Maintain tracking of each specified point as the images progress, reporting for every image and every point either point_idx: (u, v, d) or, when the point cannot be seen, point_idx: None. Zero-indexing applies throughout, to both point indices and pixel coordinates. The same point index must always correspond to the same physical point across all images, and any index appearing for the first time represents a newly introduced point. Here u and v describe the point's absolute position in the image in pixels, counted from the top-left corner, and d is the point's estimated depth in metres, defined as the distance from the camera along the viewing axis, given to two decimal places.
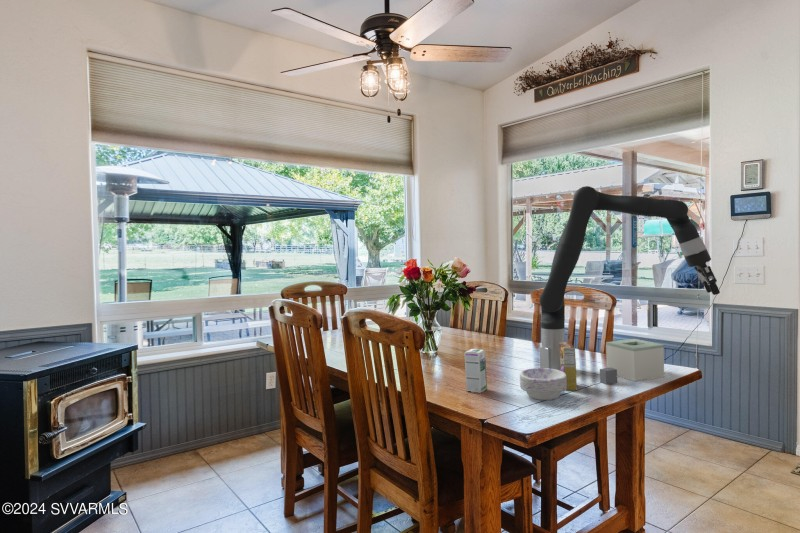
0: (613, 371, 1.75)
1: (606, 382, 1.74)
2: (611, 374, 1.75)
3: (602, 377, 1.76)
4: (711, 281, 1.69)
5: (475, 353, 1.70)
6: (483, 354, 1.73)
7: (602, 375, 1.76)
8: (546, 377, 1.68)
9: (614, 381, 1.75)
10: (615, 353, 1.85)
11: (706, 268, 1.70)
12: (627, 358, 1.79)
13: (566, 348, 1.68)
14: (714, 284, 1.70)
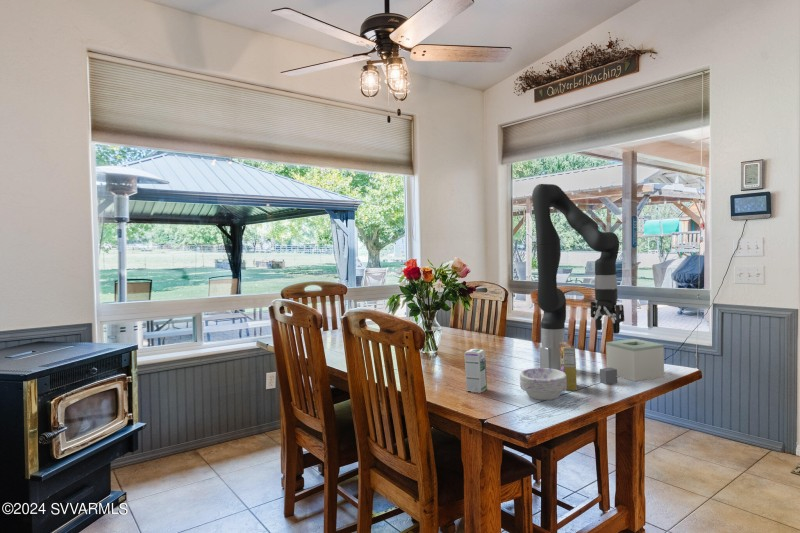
0: (613, 371, 1.75)
1: (606, 382, 1.74)
2: (611, 374, 1.75)
3: (602, 377, 1.76)
4: (620, 320, 1.69)
5: (475, 353, 1.70)
6: (483, 354, 1.73)
7: (602, 375, 1.76)
8: (546, 377, 1.68)
9: (614, 381, 1.75)
10: (615, 353, 1.85)
11: (620, 306, 1.69)
12: (627, 358, 1.79)
13: (566, 348, 1.68)
14: (618, 323, 1.71)
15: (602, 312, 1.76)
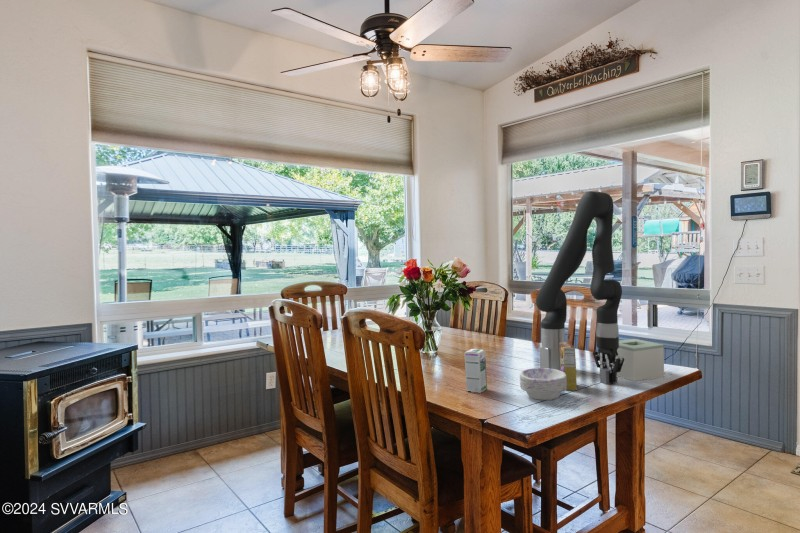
0: None
1: (606, 382, 1.74)
2: None
3: (602, 377, 1.76)
4: (616, 370, 1.72)
5: (475, 353, 1.70)
6: (483, 354, 1.73)
7: (602, 375, 1.76)
8: (546, 377, 1.68)
9: None
10: None
11: (621, 360, 1.70)
12: (627, 358, 1.79)
13: (566, 348, 1.68)
14: (615, 373, 1.74)
15: (605, 359, 1.76)
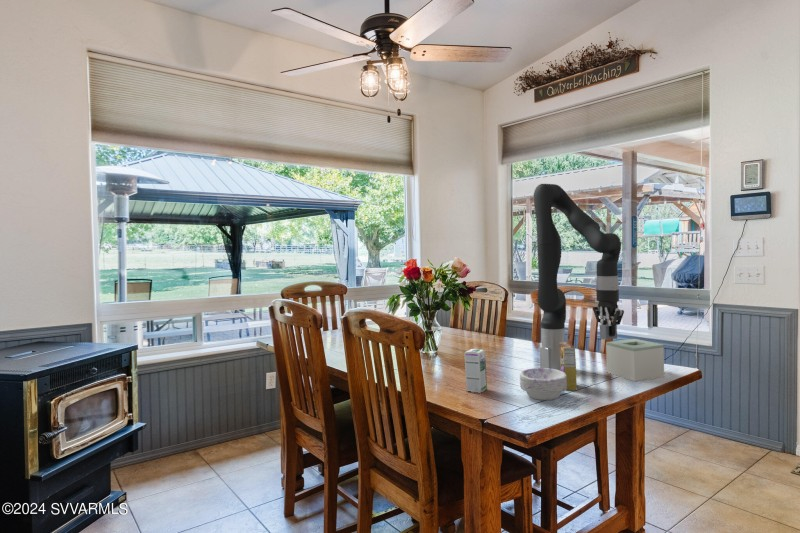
0: None
1: (606, 337, 1.74)
2: None
3: (602, 333, 1.75)
4: (616, 323, 1.72)
5: (475, 353, 1.70)
6: (483, 354, 1.73)
7: (602, 331, 1.76)
8: (546, 377, 1.68)
9: (614, 336, 1.75)
10: (615, 353, 1.85)
11: (621, 312, 1.70)
12: (627, 358, 1.79)
13: (566, 348, 1.68)
14: (614, 326, 1.74)
15: (605, 312, 1.75)
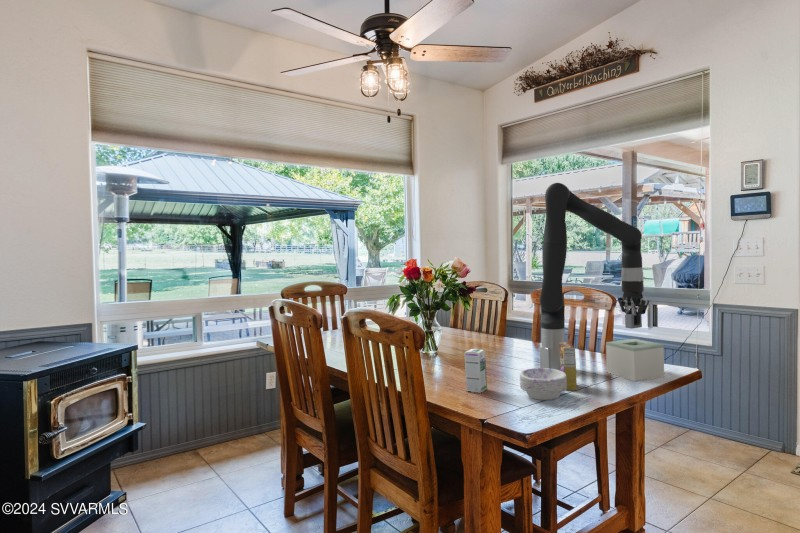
0: None
1: (631, 326, 1.82)
2: None
3: (627, 322, 1.84)
4: (641, 312, 1.80)
5: (475, 353, 1.70)
6: (483, 354, 1.73)
7: (627, 320, 1.84)
8: (546, 377, 1.68)
9: (639, 325, 1.84)
10: (615, 353, 1.85)
11: (646, 302, 1.78)
12: (627, 358, 1.79)
13: (566, 348, 1.68)
14: (639, 316, 1.82)
15: (630, 302, 1.84)
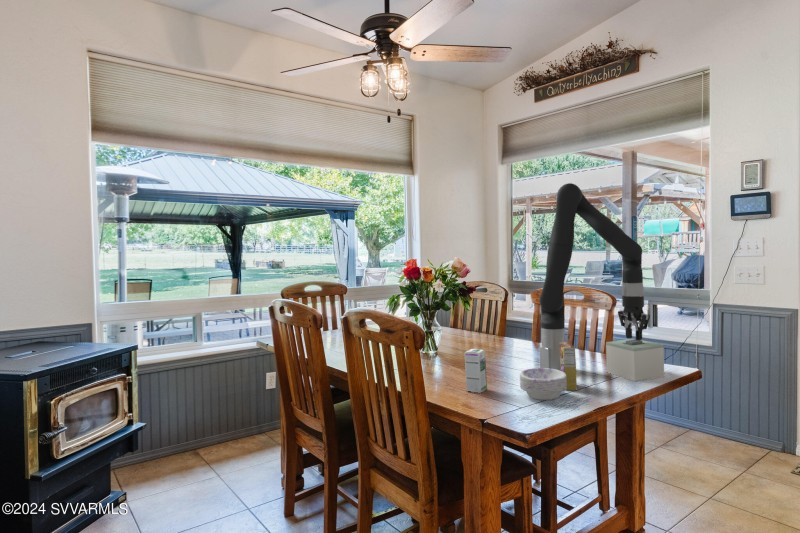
0: (639, 343, 1.83)
1: None
2: None
3: None
4: (643, 327, 1.80)
5: (475, 353, 1.70)
6: (483, 354, 1.73)
7: None
8: (546, 377, 1.68)
9: None
10: (615, 353, 1.85)
11: (647, 316, 1.78)
12: (627, 358, 1.79)
13: (566, 348, 1.68)
14: (641, 331, 1.81)
15: (630, 317, 1.84)
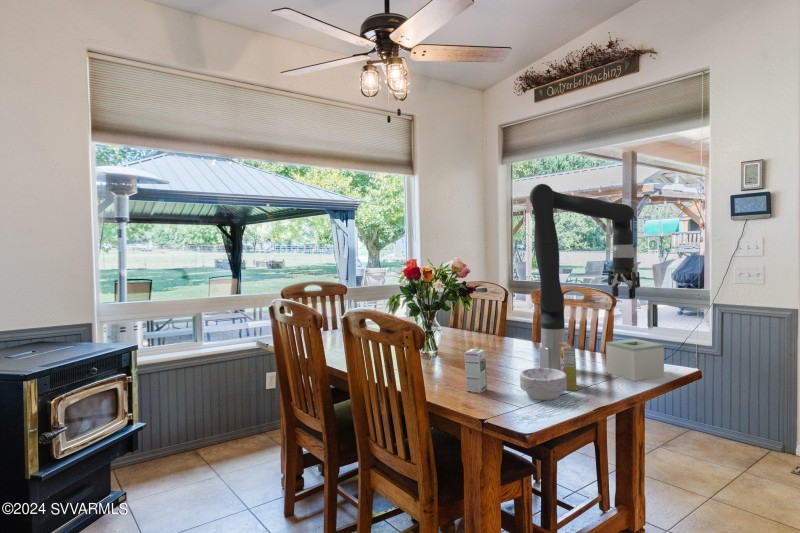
0: None
1: None
2: None
3: None
4: (636, 285, 1.83)
5: (475, 353, 1.70)
6: (483, 354, 1.73)
7: None
8: (546, 377, 1.68)
9: None
10: (615, 353, 1.85)
11: (636, 273, 1.83)
12: (627, 358, 1.79)
13: (566, 348, 1.68)
14: (634, 289, 1.84)
15: (619, 279, 1.90)
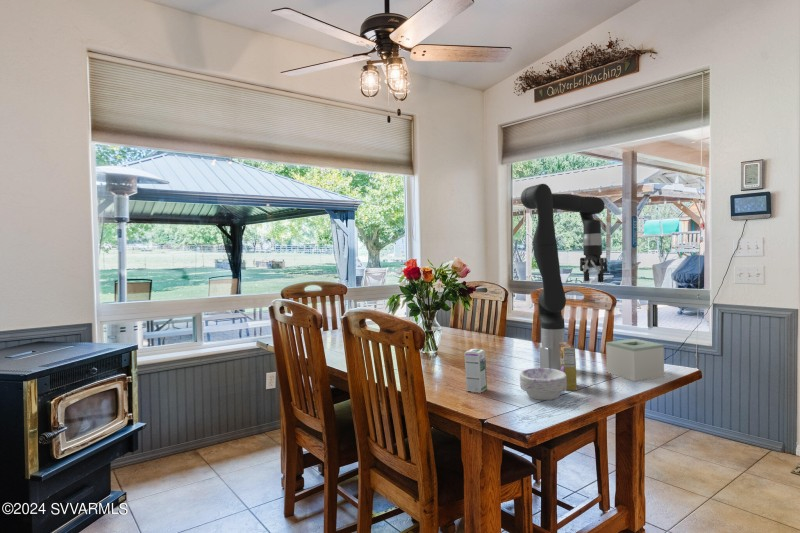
0: None
1: None
2: None
3: None
4: (604, 270, 2.03)
5: (475, 353, 1.70)
6: (483, 354, 1.73)
7: None
8: (546, 377, 1.68)
9: None
10: (615, 353, 1.85)
11: (604, 258, 2.03)
12: (627, 358, 1.79)
13: (566, 348, 1.68)
14: (602, 273, 2.05)
15: (589, 265, 2.10)
